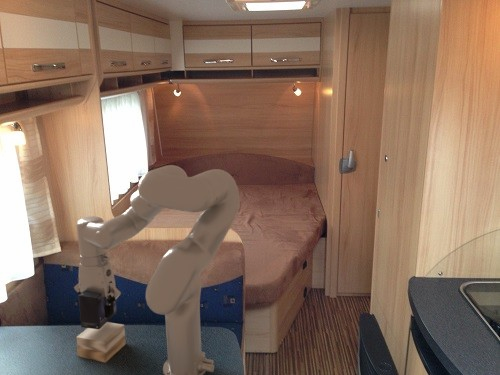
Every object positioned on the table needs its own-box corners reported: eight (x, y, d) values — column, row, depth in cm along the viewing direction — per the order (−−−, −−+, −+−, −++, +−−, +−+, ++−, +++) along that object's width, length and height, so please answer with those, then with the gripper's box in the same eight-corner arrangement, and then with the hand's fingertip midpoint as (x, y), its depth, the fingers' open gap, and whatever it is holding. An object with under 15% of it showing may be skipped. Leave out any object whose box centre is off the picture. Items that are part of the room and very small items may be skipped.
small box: (100, 330, 127) (97, 297, 125) (80, 328, 129) (76, 295, 126) (118, 312, 137) (115, 281, 135) (99, 310, 139) (96, 280, 136)
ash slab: (125, 334, 138) (124, 324, 137) (105, 352, 128) (104, 342, 128) (98, 330, 141) (97, 320, 140) (77, 347, 131) (76, 337, 130)
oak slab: (125, 345, 138) (124, 335, 137) (105, 364, 129) (104, 353, 128) (99, 340, 141) (98, 330, 140) (78, 358, 132) (76, 347, 131)
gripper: (126, 257, 129) (131, 312, 133) (78, 251, 135) (84, 303, 139) (110, 267, 122) (116, 324, 126) (60, 260, 128) (67, 315, 132)
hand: (99, 313), depth 132 cm, fingers closed on small box, 6 cm apart
